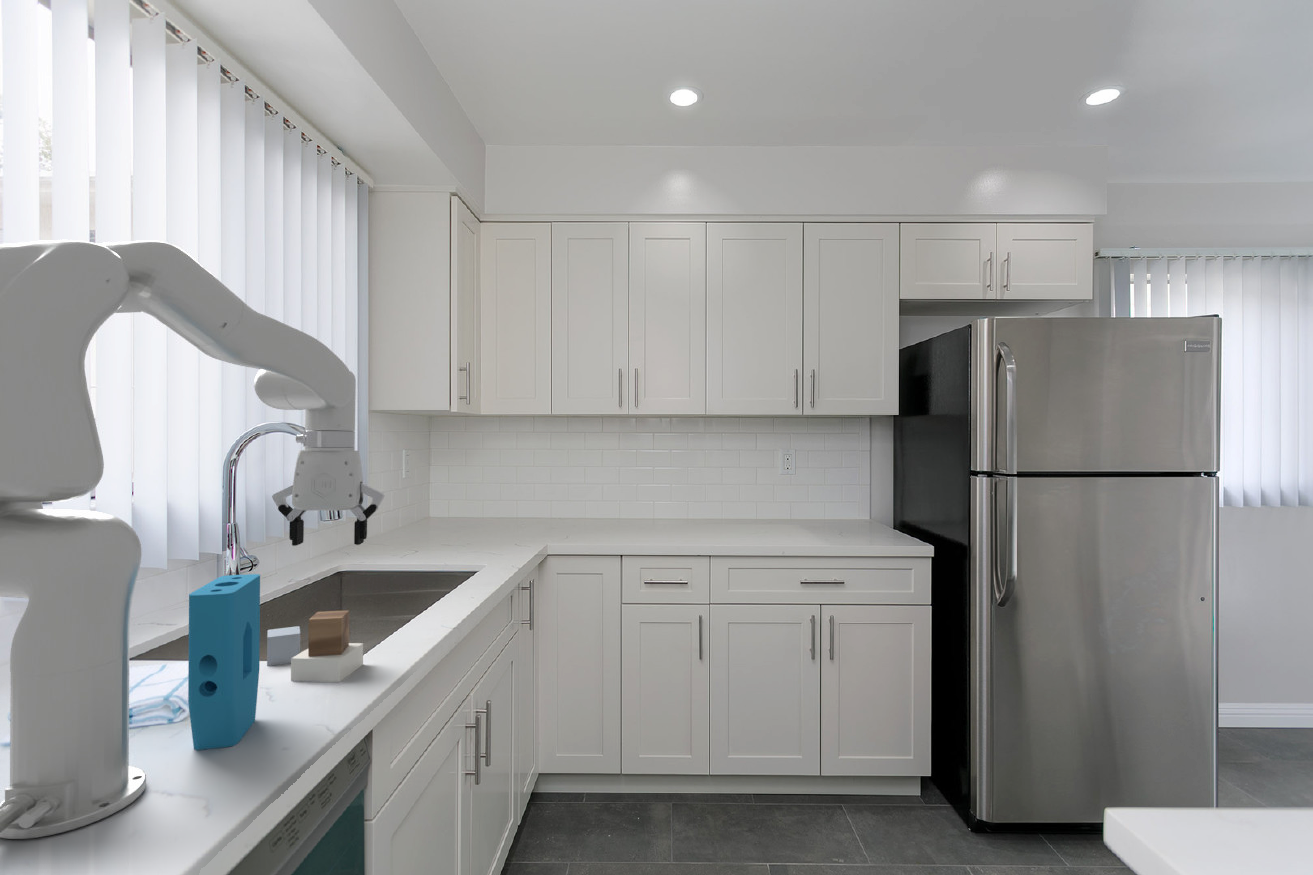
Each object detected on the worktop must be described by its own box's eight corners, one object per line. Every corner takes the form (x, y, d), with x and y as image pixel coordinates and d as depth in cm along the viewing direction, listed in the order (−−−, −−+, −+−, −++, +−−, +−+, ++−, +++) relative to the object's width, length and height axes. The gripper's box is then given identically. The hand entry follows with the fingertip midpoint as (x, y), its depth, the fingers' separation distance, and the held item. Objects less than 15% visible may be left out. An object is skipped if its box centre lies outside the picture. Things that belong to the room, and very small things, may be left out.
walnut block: (341, 654, 108) (341, 617, 108) (308, 656, 107) (308, 619, 107) (348, 645, 113) (349, 610, 113) (317, 647, 112) (317, 611, 112)
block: (231, 752, 82) (232, 593, 82) (185, 757, 81) (186, 595, 81) (260, 713, 94) (261, 573, 94) (221, 716, 92) (222, 575, 92)
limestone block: (339, 683, 106) (339, 659, 106) (290, 682, 106) (291, 658, 106) (362, 666, 114) (363, 643, 114) (317, 665, 114) (317, 642, 114)
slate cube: (300, 661, 115) (300, 633, 115) (267, 666, 113) (267, 637, 113) (299, 653, 120) (299, 625, 120) (267, 657, 117) (267, 629, 117)
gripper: (264, 441, 105) (263, 548, 105) (378, 442, 108) (377, 546, 107) (283, 441, 112) (282, 541, 112) (389, 442, 115) (388, 540, 115)
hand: (328, 544), depth 110 cm, fingers open, 9 cm apart
